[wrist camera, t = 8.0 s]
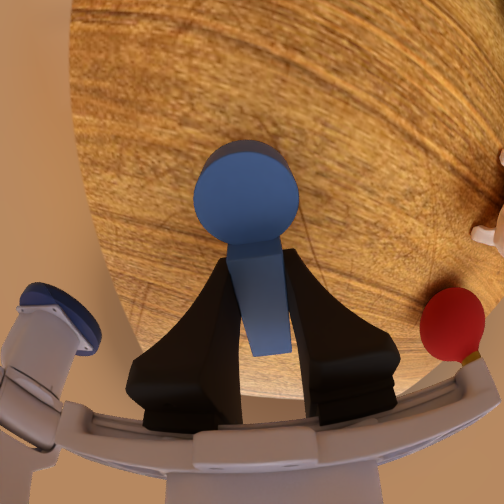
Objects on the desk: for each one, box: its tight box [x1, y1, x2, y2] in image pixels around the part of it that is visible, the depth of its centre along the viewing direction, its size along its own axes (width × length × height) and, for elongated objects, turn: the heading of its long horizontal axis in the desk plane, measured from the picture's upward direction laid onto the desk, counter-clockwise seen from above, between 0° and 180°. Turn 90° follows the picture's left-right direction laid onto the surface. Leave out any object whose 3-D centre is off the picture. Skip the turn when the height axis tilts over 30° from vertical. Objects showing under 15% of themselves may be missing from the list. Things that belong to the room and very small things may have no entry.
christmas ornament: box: [420, 287, 485, 366], centre depth 18 cm, size 7×7×10 cm
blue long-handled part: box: [193, 140, 299, 357], centre depth 12 cm, size 11×4×3 cm, turn 9°
